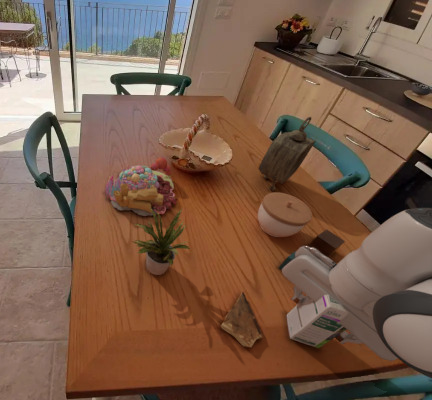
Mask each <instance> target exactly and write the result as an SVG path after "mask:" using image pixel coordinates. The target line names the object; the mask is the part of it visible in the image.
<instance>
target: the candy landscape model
mask: <svg viewBox="0 0 432 400" xmlns="http://www.w3.org/2000/svg"><path fill="white" fill-rule="evenodd" d="M159 170H161V171H162V172H160V171H159ZM171 175H172V171H171V166H170V165H169V164H168V160H167V159H166V158H164V157H158V158H157V159H156V160H155V162H153V163H152V164H151V165H150V166H148V165H140V164H137V165H131V166H130V165H127V167H126V169H125V168H123V170H122V171H120V172H119V174H118V177H117V178H114V175H112V176H110V175H109V176H108V181H107V183H106V185H105V194H106V196H107V198H106V199H107V200H110V204H111V205H112V207H113V208H114V209H116V210H117V211H132V212H133V213H135V214H137V215H139V216H143V217H146V216H150V217H151V216H153V214H152V212H151V210H150V208H151V209H152V210H153V211H154V213H155V214H156V215H158V214H159V215H164V214H165V213H166V212H167V210H169V211H173V210H172V208H173V207H172V204H173V205H175V206H176V205H177V201H178V199H177V198H176V197H175V195H176V194H175V193H174V192H173V191H174V190H175V186H174V185H175V184H174V182H173V179H172V178H171V177H172V176H171ZM149 207H150V208H149ZM157 213H158V214H157Z"/></svg>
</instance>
